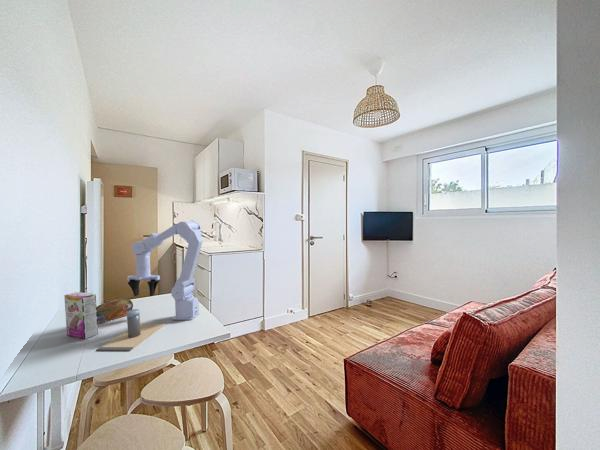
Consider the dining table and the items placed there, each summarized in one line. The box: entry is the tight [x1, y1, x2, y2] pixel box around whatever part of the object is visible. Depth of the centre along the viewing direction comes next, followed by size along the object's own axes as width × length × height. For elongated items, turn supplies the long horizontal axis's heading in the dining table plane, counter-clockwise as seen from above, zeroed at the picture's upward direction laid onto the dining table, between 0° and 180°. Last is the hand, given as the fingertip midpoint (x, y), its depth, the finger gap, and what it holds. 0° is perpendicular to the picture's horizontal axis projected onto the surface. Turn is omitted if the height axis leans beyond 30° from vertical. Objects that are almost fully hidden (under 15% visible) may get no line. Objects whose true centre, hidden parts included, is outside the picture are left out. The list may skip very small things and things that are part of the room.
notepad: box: [96, 323, 166, 352], centre depth 97 cm, size 12×21×1 cm, turn 177°
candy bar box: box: [63, 291, 99, 340], centre depth 98 cm, size 11×5×16 cm, turn 71°
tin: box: [96, 297, 134, 324], centre depth 115 cm, size 15×3×8 cm, turn 148°
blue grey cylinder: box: [126, 308, 141, 338], centre depth 97 cm, size 4×4×10 cm
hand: (144, 295), depth 118 cm, fingers open, 7 cm apart
